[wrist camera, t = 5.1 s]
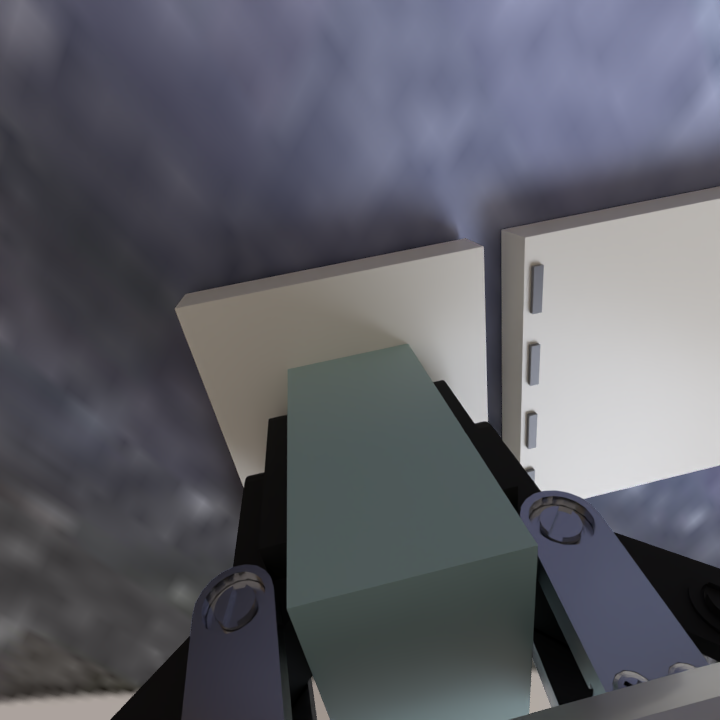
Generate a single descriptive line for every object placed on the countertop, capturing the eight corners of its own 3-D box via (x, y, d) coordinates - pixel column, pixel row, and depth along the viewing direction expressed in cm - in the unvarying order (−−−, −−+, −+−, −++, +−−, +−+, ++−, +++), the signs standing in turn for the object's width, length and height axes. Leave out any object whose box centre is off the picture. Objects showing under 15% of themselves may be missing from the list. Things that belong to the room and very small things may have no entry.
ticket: (501, 229, 11) (527, 238, 9) (885, 153, 11) (953, 152, 10) (502, 488, 15) (520, 517, 14) (784, 420, 15) (825, 442, 14)
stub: (185, 293, 10) (8, 528, 4) (465, 238, 10) (735, 361, 4) (278, 546, 14) (269, 863, 8) (476, 498, 15) (621, 760, 8)
